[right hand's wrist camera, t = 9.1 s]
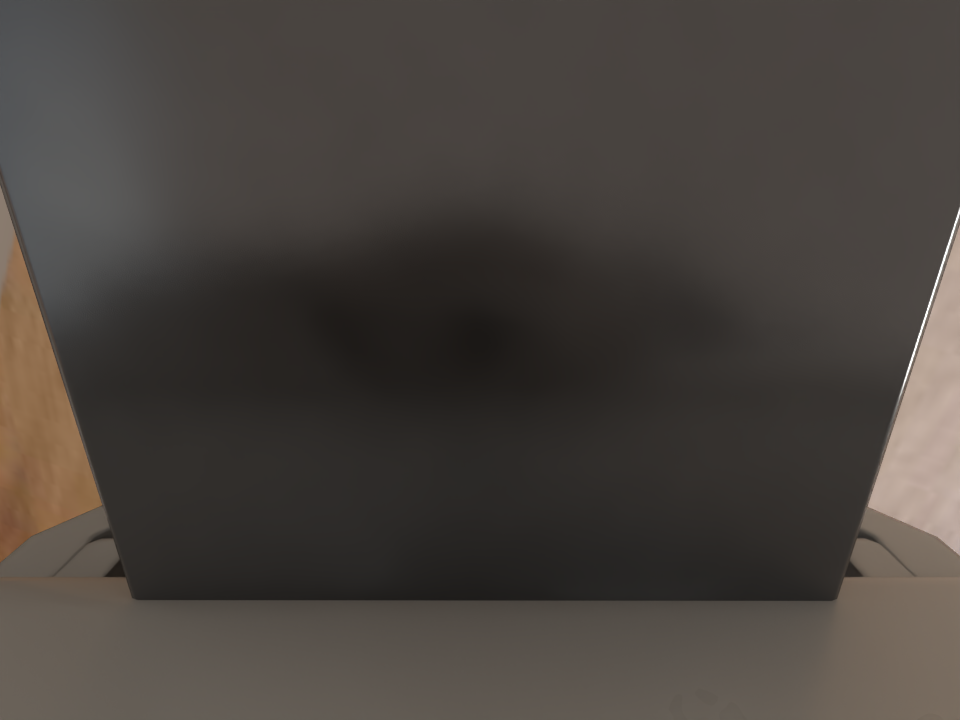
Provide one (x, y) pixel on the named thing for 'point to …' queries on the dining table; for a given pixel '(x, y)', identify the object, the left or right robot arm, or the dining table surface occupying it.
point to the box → (483, 284)
